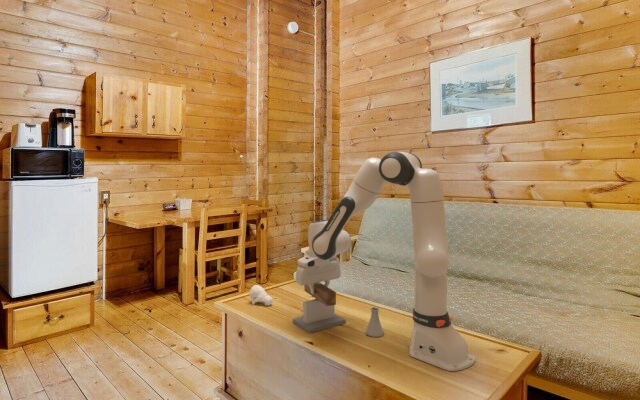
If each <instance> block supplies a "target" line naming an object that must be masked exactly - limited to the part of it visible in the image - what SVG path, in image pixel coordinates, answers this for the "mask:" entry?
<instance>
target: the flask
mask: <svg viewBox="0 0 640 400" xmlns="http://www.w3.org/2000/svg"><path fill="white" fill-rule="evenodd" d="M379 310H380V308H379V307H376V306H374V307H370V311H371V314H370V319H369V322H368V325H367V327H366V329H365V335H366V336H369V337H374V338H376V337H377V338H381V337H382V336H384V335H385V333H384V330H383V327H382V323H381V321H380V316H379Z"/></svg>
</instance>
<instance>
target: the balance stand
mask: <svg viewBox="0 0 640 400" xmlns="http://www.w3.org/2000/svg"><path fill="white" fill-rule="evenodd" d="M346 322H347V319H346V318H344V317H342V316H340V315H338V314H336V313H335V305H332V306H326V305H324V304H323V303H321V302H320V301H318V300H317V299H316V298H313V299H309V300H305V301H303V302H302V316H300V317H299V316H298V317H295V318H292V323H293V324H294V325H296V326H297V327H299V328H301V329H302V330H303V331H305V332H306V333H308V334H310V333H316V332H318V331H323V330H326V329H328V328H333V327H336V326H340V325H344V324H346Z"/></svg>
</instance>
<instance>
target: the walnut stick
mask: <svg viewBox="0 0 640 400" xmlns="http://www.w3.org/2000/svg"><path fill="white" fill-rule="evenodd" d="M303 286H304V288H303V289H304V291H305V292H306V293H307V294H308V295H310V297H311V296H312V297H313V299H317V300H318V301H320V302H321V303H323V304H324V305H326V306H332V305H334V306H336V305H337V292H336V291H335V290H333V289H331V288H330V287H326V286H325V285H324V284H323V283H322V282H318V283H314V286H313V288H314V289H316V293H314V294H312V293H311V289H310V287H309V286H308V284H307V285H303Z"/></svg>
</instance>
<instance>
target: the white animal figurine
mask: <svg viewBox="0 0 640 400" xmlns="http://www.w3.org/2000/svg"><path fill="white" fill-rule="evenodd" d="M248 294H249V298H250V300H251V303H252V305H253V306H255V305H256V303H264V305H265V306H271V304H272V303H273V301H274V300H273V297H272V296H270V295H269V294H268V292H266V290H265V289H264V287H262V286H261V285H259V284H255V285H253V286H251V288H250V290H249V293H248Z"/></svg>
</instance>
